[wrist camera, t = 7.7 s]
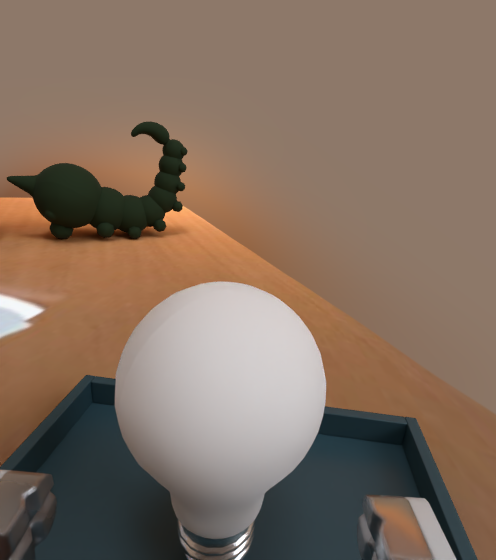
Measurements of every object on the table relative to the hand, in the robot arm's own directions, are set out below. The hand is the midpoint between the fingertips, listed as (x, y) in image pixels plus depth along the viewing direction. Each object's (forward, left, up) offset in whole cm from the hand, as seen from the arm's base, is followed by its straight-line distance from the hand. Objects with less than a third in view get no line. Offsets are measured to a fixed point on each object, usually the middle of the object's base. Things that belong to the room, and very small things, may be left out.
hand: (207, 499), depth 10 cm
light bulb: (-2, +3, -6) cm, 7 cm away
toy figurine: (-45, +32, -7) cm, 56 cm away
